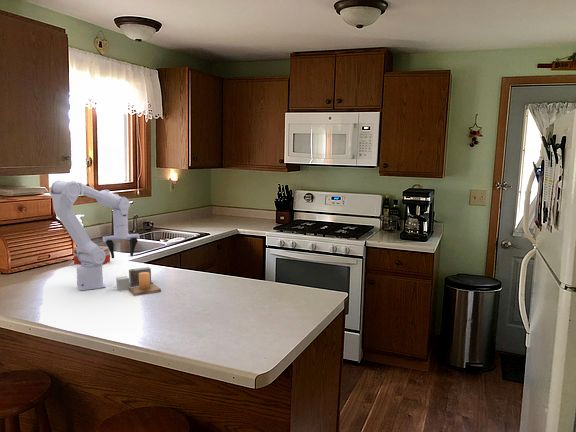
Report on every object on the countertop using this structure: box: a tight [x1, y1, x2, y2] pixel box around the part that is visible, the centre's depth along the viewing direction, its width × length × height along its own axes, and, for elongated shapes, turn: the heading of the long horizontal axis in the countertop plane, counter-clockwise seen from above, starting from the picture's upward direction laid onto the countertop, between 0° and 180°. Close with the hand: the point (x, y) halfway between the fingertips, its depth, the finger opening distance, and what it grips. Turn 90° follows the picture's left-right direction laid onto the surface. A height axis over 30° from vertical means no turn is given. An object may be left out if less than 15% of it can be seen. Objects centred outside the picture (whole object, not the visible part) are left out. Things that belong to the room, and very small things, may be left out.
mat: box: [128, 283, 162, 297], centre depth 183 cm, size 10×9×1 cm
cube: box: [115, 275, 130, 292], centre depth 186 cm, size 4×4×4 cm
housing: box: [128, 266, 154, 287], centre depth 193 cm, size 9×4×6 cm, turn 120°
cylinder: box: [139, 272, 151, 290], centre depth 183 cm, size 4×4×6 cm
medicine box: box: [72, 245, 111, 265], centre depth 233 cm, size 15×8×8 cm, turn 78°
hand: (122, 256), depth 201 cm, fingers open, 7 cm apart
